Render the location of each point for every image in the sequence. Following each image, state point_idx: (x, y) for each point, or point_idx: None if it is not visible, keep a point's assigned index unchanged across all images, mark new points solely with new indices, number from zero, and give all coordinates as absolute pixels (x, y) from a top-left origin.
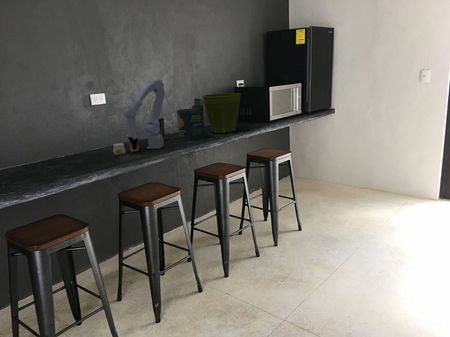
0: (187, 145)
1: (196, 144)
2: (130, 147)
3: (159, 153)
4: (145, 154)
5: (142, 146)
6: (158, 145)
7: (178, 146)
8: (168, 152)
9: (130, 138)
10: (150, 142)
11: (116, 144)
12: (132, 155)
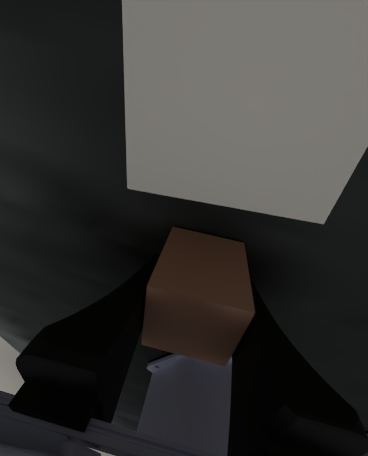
0: (135, 417)
1: (131, 429)
2: (203, 258)
3: (21, 311)
4: (21, 258)
5: (325, 358)
6: (154, 384)
7: (139, 404)
8: (29, 339)
9: (261, 410)
10: (182, 400)
11: (298, 4)
12: (19, 176)
